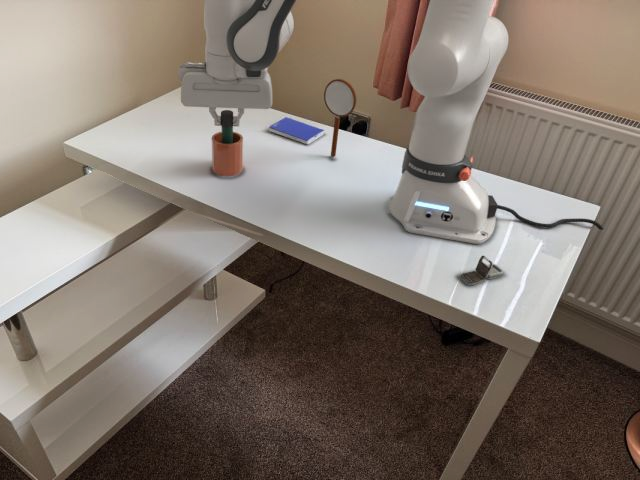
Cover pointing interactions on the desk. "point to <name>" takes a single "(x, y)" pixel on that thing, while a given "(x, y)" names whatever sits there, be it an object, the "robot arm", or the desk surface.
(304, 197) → the desk surface
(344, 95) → the magnifying glass
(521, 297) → the desk surface
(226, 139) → the marker
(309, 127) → the hard drive
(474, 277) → the strap clip
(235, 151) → the pen holder
